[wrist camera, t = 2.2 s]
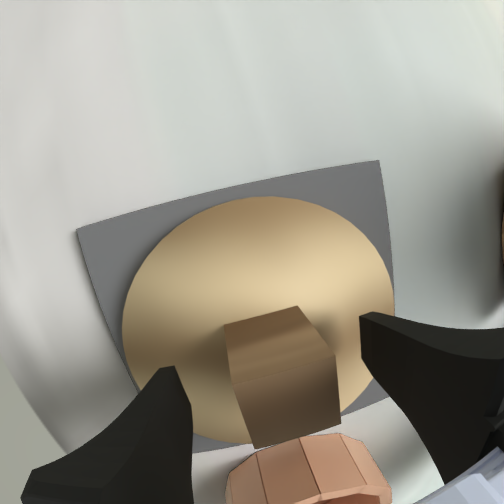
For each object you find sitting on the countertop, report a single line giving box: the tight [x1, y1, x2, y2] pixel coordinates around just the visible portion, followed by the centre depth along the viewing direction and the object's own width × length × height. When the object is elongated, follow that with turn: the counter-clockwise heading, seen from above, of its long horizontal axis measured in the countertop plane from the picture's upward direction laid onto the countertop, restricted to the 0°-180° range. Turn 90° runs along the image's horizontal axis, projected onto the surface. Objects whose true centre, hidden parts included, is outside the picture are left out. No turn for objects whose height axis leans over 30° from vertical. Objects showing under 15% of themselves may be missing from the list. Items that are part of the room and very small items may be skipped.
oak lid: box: [122, 196, 394, 449], centre depth 11 cm, size 12×12×5 cm
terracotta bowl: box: [225, 433, 392, 504], centre depth 14 cm, size 10×10×4 cm
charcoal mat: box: [76, 160, 395, 453], centre depth 13 cm, size 13×13×1 cm
